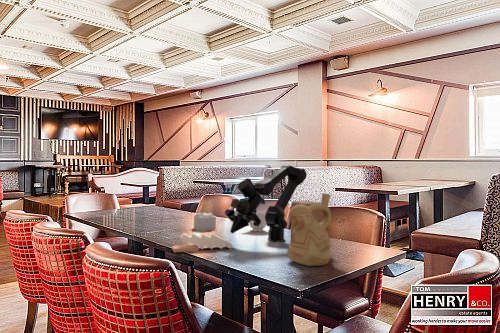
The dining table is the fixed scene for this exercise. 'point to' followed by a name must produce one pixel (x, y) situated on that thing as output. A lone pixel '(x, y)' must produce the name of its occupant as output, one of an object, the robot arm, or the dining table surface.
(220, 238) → the domino
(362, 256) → the dining table surface
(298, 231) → the ceramic vessel
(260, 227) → the teacup
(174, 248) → the domino
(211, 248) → the domino
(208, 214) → the lumpy-topped squat cylinder
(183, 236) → the domino
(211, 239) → the beige jagged slab
